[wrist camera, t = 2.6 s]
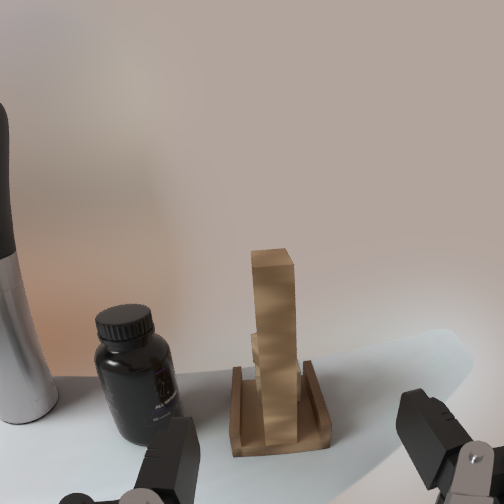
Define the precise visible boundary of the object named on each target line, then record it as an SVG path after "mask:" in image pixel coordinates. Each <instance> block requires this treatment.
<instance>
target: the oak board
mask: <svg viewBox="0 0 504 504" xmlns="http://www.w3.org/2000/svg"><path fill="white" fill-rule="evenodd" d="M251 260H252V275H253V288H254V301H255V313H256V327H257V340H258V353H259V365H260V378H261V391H262V404H263V416H264V429H265V442H266V446H270V445H282V444H292V443H297V349H296V308H295V279H294V264H293V262H292V260H291V258H290V256H289V255H288V252H287V251H286V249H285V248H284V249H271V250H258V251H251Z"/></svg>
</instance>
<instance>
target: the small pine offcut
mask: <svg viewBox="0 0 504 504" xmlns="http://www.w3.org/2000/svg"><path fill="white" fill-rule="evenodd" d="M251 342H252V353H253V362H254V363H255V364H256V365H257V366H258V367H259V368H260V365H259V353H258V340H257V333H254V334H251Z"/></svg>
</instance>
